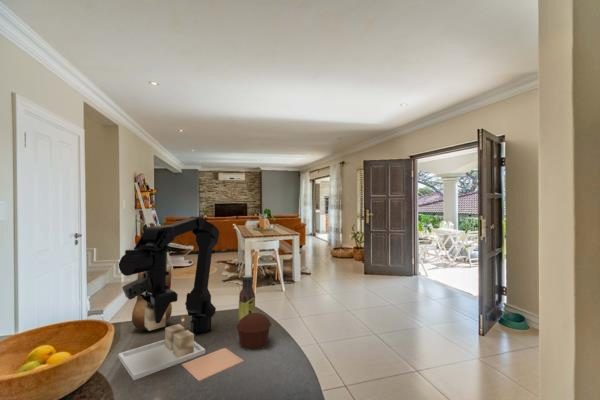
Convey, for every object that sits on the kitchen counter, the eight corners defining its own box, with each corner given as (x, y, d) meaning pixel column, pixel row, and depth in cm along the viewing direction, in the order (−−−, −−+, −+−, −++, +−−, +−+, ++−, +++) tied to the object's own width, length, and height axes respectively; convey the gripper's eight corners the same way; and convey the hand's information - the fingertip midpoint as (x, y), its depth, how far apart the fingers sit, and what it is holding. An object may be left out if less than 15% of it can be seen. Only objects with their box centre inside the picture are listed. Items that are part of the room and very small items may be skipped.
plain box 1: (178, 341, 96) (179, 323, 96) (184, 346, 93) (184, 327, 93) (164, 346, 93) (165, 327, 93) (170, 350, 90) (170, 331, 90)
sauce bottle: (251, 332, 105) (251, 278, 106) (235, 330, 106) (236, 277, 107) (257, 325, 112) (257, 274, 112) (242, 324, 113) (243, 274, 114)
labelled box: (160, 321, 88) (160, 302, 88) (165, 326, 84) (165, 305, 85) (144, 326, 85) (144, 305, 85) (149, 330, 81) (149, 309, 82)
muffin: (240, 356, 88) (240, 323, 88) (232, 341, 98) (233, 312, 98) (276, 348, 93) (276, 317, 93) (265, 334, 103) (265, 307, 103)
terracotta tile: (224, 350, 92) (224, 347, 92) (243, 363, 84) (243, 360, 84) (181, 367, 82) (181, 364, 82) (198, 383, 74) (198, 380, 74)
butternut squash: (152, 338, 100) (153, 267, 101) (122, 333, 104) (124, 265, 104) (179, 323, 113) (180, 260, 114) (152, 319, 117) (154, 259, 118)
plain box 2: (187, 348, 91) (187, 329, 92) (193, 353, 88) (193, 334, 88) (173, 353, 88) (173, 334, 88) (179, 359, 85) (179, 338, 85)
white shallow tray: (183, 338, 100) (184, 333, 100) (205, 355, 88) (205, 349, 89) (118, 359, 86) (118, 353, 86) (133, 382, 74) (133, 375, 74)
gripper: (117, 267, 86) (116, 319, 86) (134, 278, 73) (133, 339, 72) (156, 262, 94) (155, 310, 93) (178, 271, 81) (177, 327, 80)
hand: (155, 320), depth 85 cm, fingers closed on labelled box, 4 cm apart
